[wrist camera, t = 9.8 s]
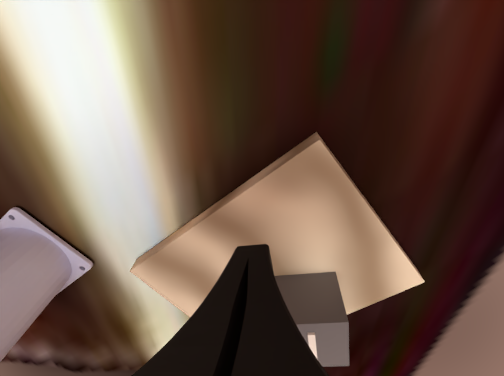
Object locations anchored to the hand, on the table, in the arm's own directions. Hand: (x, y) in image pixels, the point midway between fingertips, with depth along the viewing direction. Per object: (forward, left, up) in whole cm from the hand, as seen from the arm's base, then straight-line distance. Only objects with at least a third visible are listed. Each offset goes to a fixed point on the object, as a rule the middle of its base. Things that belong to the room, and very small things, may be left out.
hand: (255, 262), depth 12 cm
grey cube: (-4, -11, -8) cm, 14 cm away
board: (-5, -8, -9) cm, 13 cm away
